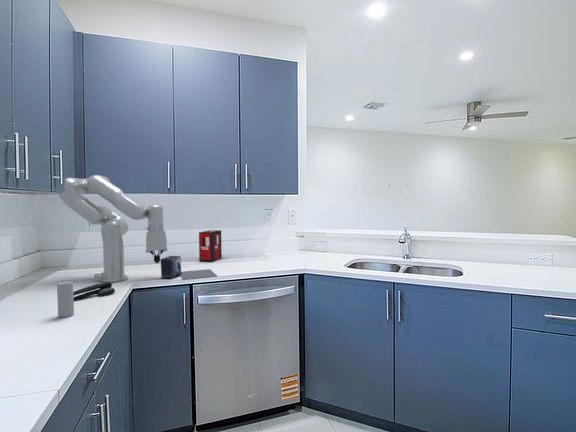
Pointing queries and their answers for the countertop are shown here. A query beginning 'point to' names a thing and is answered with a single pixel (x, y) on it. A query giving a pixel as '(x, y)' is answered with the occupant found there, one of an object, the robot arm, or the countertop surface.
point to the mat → (197, 274)
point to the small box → (170, 267)
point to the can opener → (103, 291)
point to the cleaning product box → (210, 246)
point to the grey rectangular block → (65, 299)
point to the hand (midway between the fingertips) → (157, 262)
